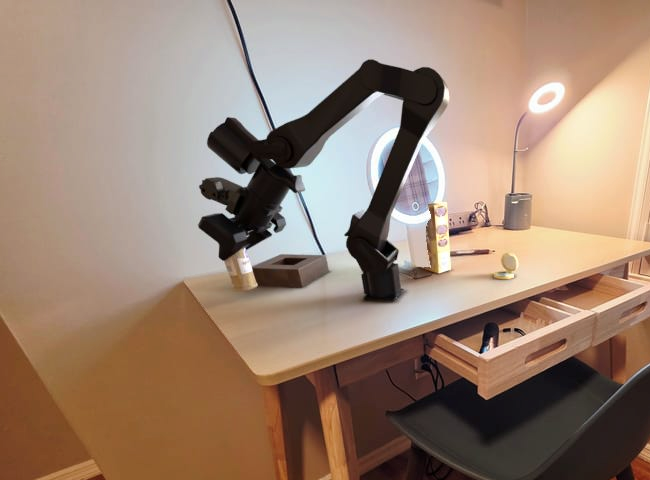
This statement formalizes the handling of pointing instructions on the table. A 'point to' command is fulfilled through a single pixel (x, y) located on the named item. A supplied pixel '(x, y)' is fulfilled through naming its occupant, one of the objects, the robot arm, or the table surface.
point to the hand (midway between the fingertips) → (228, 256)
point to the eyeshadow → (507, 266)
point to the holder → (290, 270)
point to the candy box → (438, 238)
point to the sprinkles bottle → (241, 271)
